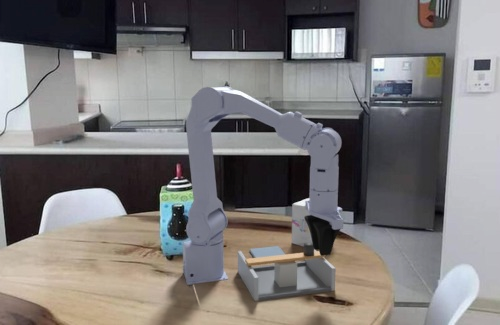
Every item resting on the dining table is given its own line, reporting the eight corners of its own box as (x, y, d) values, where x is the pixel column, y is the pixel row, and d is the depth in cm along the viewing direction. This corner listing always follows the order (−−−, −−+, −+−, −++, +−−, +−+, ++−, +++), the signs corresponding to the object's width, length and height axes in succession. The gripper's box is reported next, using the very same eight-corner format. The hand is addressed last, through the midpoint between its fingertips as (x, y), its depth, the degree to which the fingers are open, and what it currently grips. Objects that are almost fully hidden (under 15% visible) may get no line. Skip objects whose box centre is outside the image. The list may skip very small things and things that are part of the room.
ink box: (307, 235, 132) (308, 191, 129) (332, 241, 127) (333, 196, 124) (290, 243, 125) (291, 197, 123) (316, 250, 120) (317, 202, 118)
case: (254, 303, 92) (254, 277, 91) (237, 273, 106) (237, 251, 105) (334, 292, 96) (335, 268, 95) (308, 265, 110) (308, 243, 109)
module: (279, 287, 98) (280, 265, 97) (274, 279, 101) (274, 258, 100) (297, 285, 99) (297, 263, 98) (290, 277, 102) (291, 257, 101)
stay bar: (248, 265, 95) (248, 252, 95) (245, 261, 98) (245, 248, 97) (325, 257, 100) (325, 244, 100) (320, 253, 102) (321, 240, 102)
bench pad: (258, 264, 111) (258, 260, 110) (249, 253, 118) (249, 248, 118) (288, 261, 113) (288, 257, 112) (278, 250, 120) (278, 245, 120)
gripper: (358, 195, 85) (356, 262, 87) (326, 179, 98) (325, 238, 101) (324, 198, 83) (322, 266, 85) (296, 181, 97) (295, 241, 99)
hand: (321, 251), depth 93 cm, fingers open, 3 cm apart
